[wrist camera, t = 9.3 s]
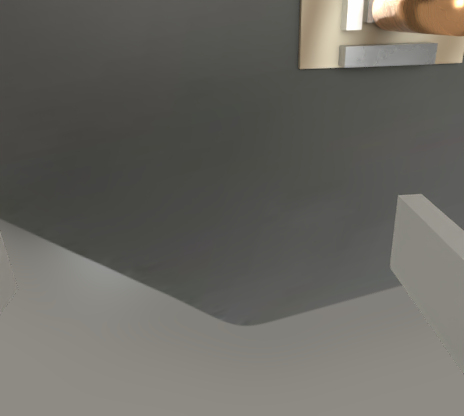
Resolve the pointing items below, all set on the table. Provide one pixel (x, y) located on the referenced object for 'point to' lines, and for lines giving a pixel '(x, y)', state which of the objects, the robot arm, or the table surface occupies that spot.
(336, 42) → the board
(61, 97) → the table surface
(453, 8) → the ram
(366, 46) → the rails
